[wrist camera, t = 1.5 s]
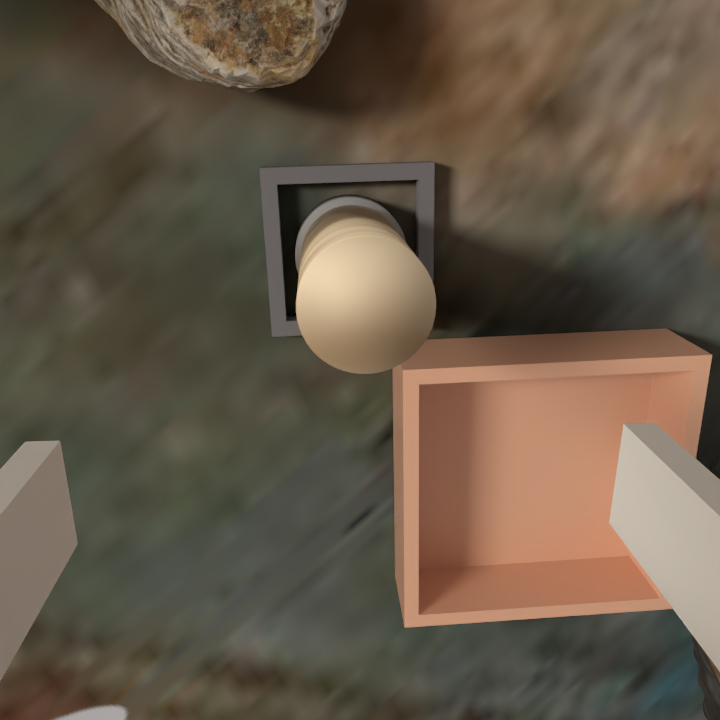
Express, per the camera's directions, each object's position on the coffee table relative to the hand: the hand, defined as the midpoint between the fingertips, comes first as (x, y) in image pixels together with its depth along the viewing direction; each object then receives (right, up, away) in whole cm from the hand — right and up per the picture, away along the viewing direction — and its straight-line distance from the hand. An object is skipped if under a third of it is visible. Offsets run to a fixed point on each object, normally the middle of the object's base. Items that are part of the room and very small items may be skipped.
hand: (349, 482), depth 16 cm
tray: (+10, -3, +24) cm, 26 cm away
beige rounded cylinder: (0, +9, +19) cm, 21 cm away
